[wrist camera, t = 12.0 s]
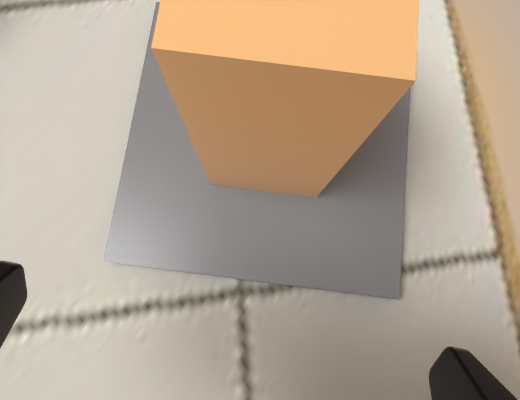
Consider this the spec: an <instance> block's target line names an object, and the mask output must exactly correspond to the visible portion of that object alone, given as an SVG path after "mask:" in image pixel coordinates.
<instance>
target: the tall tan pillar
mask: <svg viewBox="0 0 520 400" xmlns="http://www.w3.org/2000/svg"><path fill="white" fill-rule="evenodd" d="M418 16H419V0H160V5H159V10H158V16H157V21H156V26H155V31H154V36H153V41H152V46H151V49H152V51H153V53H154V56H155V58H156V60H157V63H158V65H159V67H160V69H161V72H162V74H163V76H164V79H165V81H166V83H167V86H168V88H169V90H170V92H171V95H172V97H173V99H174V102H175V104H176V106H177V109H178V111H179V113H180V115H181V118H182V120H183V122H184V125H185V127H186V129H187V132H188V134H189V136H190V138H191V141H192V143H193V145H194V148H195V150H196V152H197V155H198V157H199V159H200V161H201V164H202V166H203V168H204V171H205V173H206V175H207V178H208V180H209V182H210V184H212V185H221V186H229V187H237V188H245V189H253V190H261V191H269V192H277V193H285V194H294V195H302V196H310V197H317V196H318V195H319V194H320V193H321V191H322V190H323V189H324V188H325V187H326V185H327V184H328V183H329V182H330V181H331V180H332V178H333V177H334V176H335V175H336V174H337V173H338V171H339V170H340V169H341V168H342V167H343V166H344V164H345V163H346V162H347V161H348V160H349V158H350V157H351V156H352V155H353V154H354V153H355V151H356V150H357V149H358V148H359V147H360V146H361V144H362V143H363V142H364V141H365V140H366V139H367V137H368V136H369V135H370V134H371V133H372V131H373V130H374V129H375V128H376V127H377V126H378V124H379V123H380V122H381V121H382V120H383V119H384V117H385V116H386V115H387V114H388V113H389V111H390V110H391V109H392V108H393V107H394V106H395V104H396V103H397V102H398V101H399V100H400V99H401V97H402V96H403V95H404V94H405V93H406V92H407V90H408V89H409V88H410V87H411V86H412V84H413V83H414V82H415V81H416V63H417V39H418Z"/></svg>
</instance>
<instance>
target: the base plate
mask: <svg viewBox="0 0 520 400" xmlns="http://www.w3.org/2000/svg"><path fill="white" fill-rule="evenodd" d="M159 5H160V2H156V7H155V12H154V17H153V21H152V26H151V31H150V36H149V41H148V46H147V51H146V56H145V61H144V65H143V70H142V75H141V80H140V85H139V90H138V95H137V100H136V105H135V109H134V114H133V119H132V124H131V129H130V134H129V139H128V144H127V149H126V153H125V158H124V163H123V168H122V173H121V178H120V183H119V188H118V193H117V197H116V202H115V207H114V212H113V217H112V222H111V227H110V232H109V237H108V241H107V246H106V251H105V256H104V261H103V262H111V263H118V264H126V265H134V266H142V267H150V268H158V269H165V270H173V271H181V272H189V273H197V274H205V275H212V276H220V277H228V278H236V279H244V280H252V281H259V282H267V283H275V284H283V285H291V286H299V287H306V288H314V289H322V290H330V291H338V292H346V293H354V294H361V295H369V296H377V297H385V298H393V299H400V280H401V260H402V240H403V220H404V200H405V180H406V161H407V141H408V121H409V101H410V88H409V89H408V90H407V92H406V93H405V94H404V95H403V96H402V97H401V99H400V100H399V101H398V102H397V103H396V104H395V106H394V107H393V108H392V109H391V110H390V111H389V113H388V114H387V115H386V116H385V117H384V119H383V120H382V121H381V122H380V123H379V124H378V126H377V127H376V128H375V129H374V130H373V131H372V133H371V134H370V135H369V136H368V137H367V139H366V140H365V141H364V142H363V143H362V144H361V146H360V147H359V148H358V149H357V150H356V151H355V153H354V154H353V155H352V156H351V157H350V158H349V160H348V161H347V162H346V163H345V164H344V166H343V167H342V168H341V169H340V170H339V171H338V173H337V174H336V175H335V176H334V177H333V178H332V180H331V181H330V182H329V183H328V184H327V185H326V187H325V188H324V189H323V190H322V191H321V193H320V194H319V195H318V196H317V197H310V196H302V195H294V194H285V193H277V192H269V191H261V190H253V189H245V188H237V187H229V186H221V185H212V184H210V182H209V180H208V178H207V175H206V173H205V171H204V168H203V166H202V164H201V161H200V159H199V157H198V155H197V152H196V150H195V148H194V145H193V143H192V141H191V138H190V136H189V134H188V132H187V129H186V127H185V125H184V122H183V120H182V118H181V115H180V113H179V111H178V109H177V106H176V104H175V102H174V99H173V97H172V95H171V92H170V90H169V88H168V86H167V83H166V81H165V79H164V76H163V74H162V72H161V69H160V67H159V65H158V63H157V60H156V58H155V56H154V53H153V51H152V49H151V46H152V41H153V36H154V31H155V26H156V21H157V16H158V10H159Z"/></svg>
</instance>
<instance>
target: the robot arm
mask: <svg viewBox="0 0 520 400" xmlns="http://www.w3.org/2000/svg"><path fill="white" fill-rule="evenodd" d="M26 299H27V287H26V281H25V274H24V269H23V267H22V265H20V264H18V263H12V262H7V261H0V348H1V346H2V344H3V343H4V341H5V339H6V337H7V335H8V333H9V332H10V330H11V328H12V326H13V324H14V323H15V321H16V319H17V317H18V315H19V313H20V312H21V310H22V308H23V306H24V304H25V302H26ZM429 384H430V390H431V397H432V400H517V399H516V398H515V397H514V396H513V395H512V394H511V393H510V392H509V391H508V390H507V389H506V388H505V387H504V386H503V385H502V384H501V383H500V382H499V381H498V380H497V379H496V378H495V377H494V376H493V375H492V374H491V373H490V372H489V371H488V370H487V369H486V368H485V367H484V366H483V365H482V364H481V363H480V362H479V361H478V360H477V359H476V358H475V357H474V356H473V355H472V354H471V353H470V352H469V351H467V350H465V349H460V348H455V347H447V348H445V349H444V350H443V352H442V353H441V355H440V356H439V357H438V359H437V360H436V362H435V363H434V364H433V366H432V367H431V369H430V372H429Z"/></svg>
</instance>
